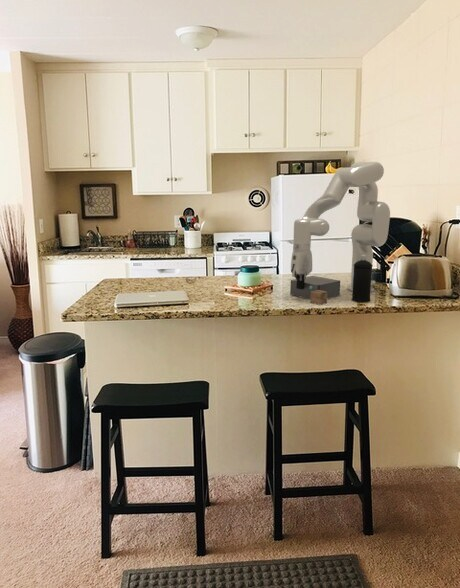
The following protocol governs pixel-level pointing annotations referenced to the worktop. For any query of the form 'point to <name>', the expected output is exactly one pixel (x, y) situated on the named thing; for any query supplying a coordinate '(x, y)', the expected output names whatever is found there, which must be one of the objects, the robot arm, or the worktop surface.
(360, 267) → the aerosol can
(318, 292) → the walnut block
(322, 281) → the grey drawer box
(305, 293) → the grey drawer
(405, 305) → the worktop surface
